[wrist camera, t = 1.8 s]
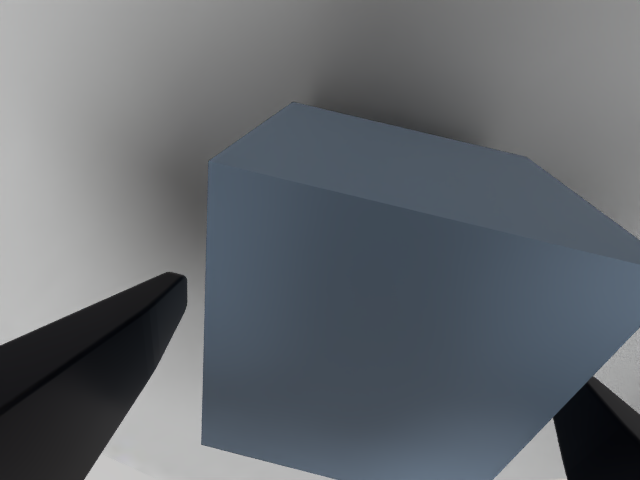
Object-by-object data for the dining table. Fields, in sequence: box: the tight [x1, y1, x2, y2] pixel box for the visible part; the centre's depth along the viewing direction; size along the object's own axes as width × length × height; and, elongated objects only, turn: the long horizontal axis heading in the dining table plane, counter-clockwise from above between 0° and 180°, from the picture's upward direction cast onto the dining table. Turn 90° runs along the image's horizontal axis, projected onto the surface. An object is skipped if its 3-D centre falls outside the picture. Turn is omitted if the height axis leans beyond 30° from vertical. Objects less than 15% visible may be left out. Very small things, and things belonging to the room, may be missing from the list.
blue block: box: [201, 102, 640, 480], centre depth 10 cm, size 6×8×8 cm
